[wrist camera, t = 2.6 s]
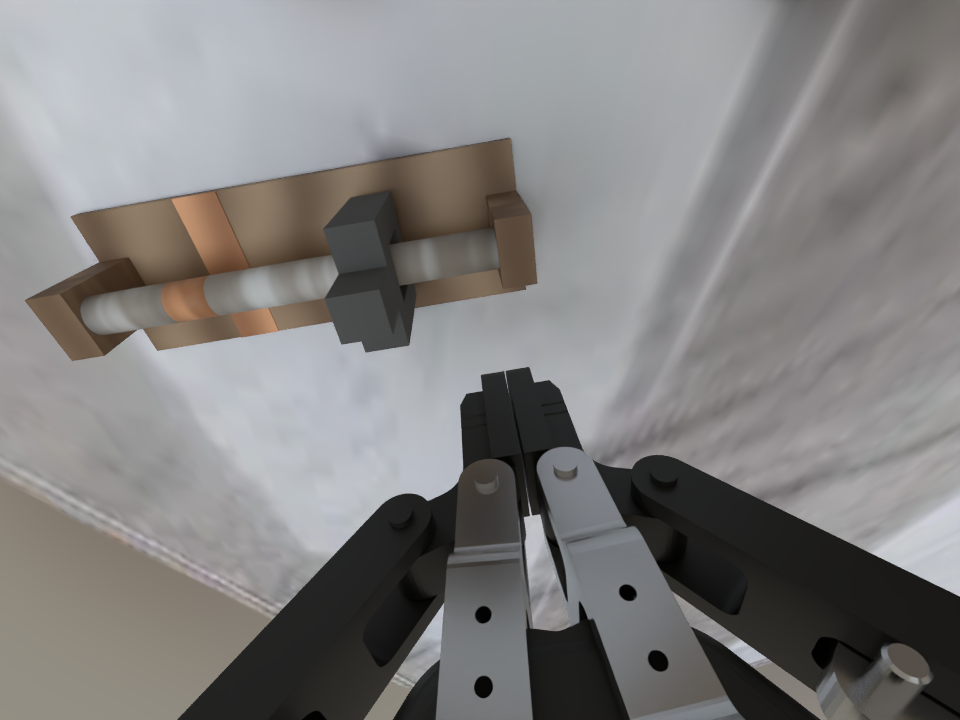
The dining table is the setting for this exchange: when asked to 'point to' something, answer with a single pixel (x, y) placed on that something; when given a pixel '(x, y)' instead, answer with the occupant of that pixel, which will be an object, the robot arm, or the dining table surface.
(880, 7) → the dining table surface
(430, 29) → the dining table surface
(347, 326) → the collar
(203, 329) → the rail
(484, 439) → the robot arm
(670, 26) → the dining table surface
